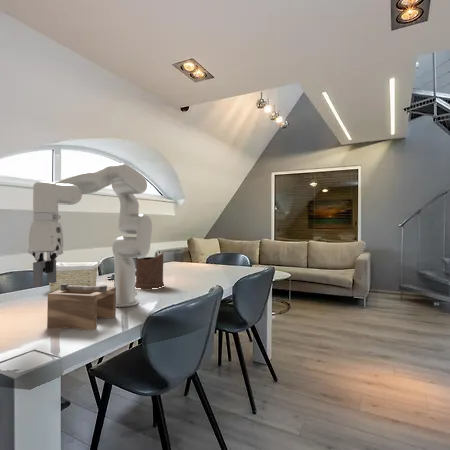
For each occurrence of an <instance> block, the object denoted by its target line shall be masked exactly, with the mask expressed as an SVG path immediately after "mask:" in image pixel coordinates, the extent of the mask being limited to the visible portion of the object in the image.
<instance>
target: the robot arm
mask: <svg viewBox="0 0 450 450" xmlns="http://www.w3.org/2000/svg"><path fill="white" fill-rule="evenodd" d="M32 186H33V187H32V188H33V189H32V203H33V204H32V222H30V223H31V224H30V228H29V233H28V234H29V235H28V250H27V253H28V254H30V255H31V256H33V258H34V261H35V262H39V261H45V260H47V261H46V262H45V268H43V273H44V272H45V274H47V273H50V272H53V269H54V260H57V259H56V258H57V257H59V256H61V255H63V254H64V251H63V249H64V234H63V228H62V224H61V222H59V220H61V218H62V216H61V215H60V214H59V206H73V205H76V204H78V203H80V201H81V200H82V198H83V195H89V194H93V193H97V192H99V191H101V190H103V189H105V188H107V187H109V186H111V188H112V190H113V191H114V193H115V194H116V196H117V198H118V200H119V202H120V204H119V205H120V208H119V217H118V231H119V232H120V233H122V234H127V235H136V236H119V237H116V238H115V239H114V240H113V242H112V246H111V248H112V255H113V262H114V267H113V268H114V271H113V273H114V281H113V287H116V308H128V307H133V306H136V305H138V304H139V300H138V299H137V298H136V296H137V295H138V292H137V291H136V289H135V283H136V276H135V271H136V262H135V260H134V259H133V258H137V259H140V258H145V257H148V255H149V252H150V251H151V250H150V249H151V241H152V230H153V223H152V219H151V217H150V216H149V215H147V214H146V213H145V214H143V213H139V207H140V204H139V201H138V199H137V197H136V196H135V195H140V194H143V193H145V192H146V190H147V188H148V181H147V179H146V178H145V176H143V175H142V174H141V173H139V172H138V171H137V170H136V169H135V168H133V167H131V166H130V165H128V164H126V163H121V162H120V163H108V164H104V165H101V166H98V167H95V168H94V169H91V170H89V171H86V172H83V173H79V174H77V175H72V176H70V177H66V178H62V179H60V180H57V181H54V182H52V181H35V182H34V184H33V185H32ZM45 252H46V259H45Z"/></svg>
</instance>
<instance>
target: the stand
mask: <svg viewBox="0 0 450 450" xmlns="http://www.w3.org/2000/svg"><path fill="white" fill-rule="evenodd" d="M116 309H117V307H116V287H114V286H108V285H100V286H97V285H96V286H77V285H75V286H72V285H69V284H61V290H58V291H55V292H49V293H47V309H46V310H47V316H46V317H47V318H46V319H47V320H46V327H47V328H60V329H74V330H75V329H76V330H89V331H94V330H96V329H97V326H98V325H97V322H98V321H97V320H98V319H97V318H101V319H103V318H104V319H115V318H116V315H117V314H116V312H117V310H116Z"/></svg>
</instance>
